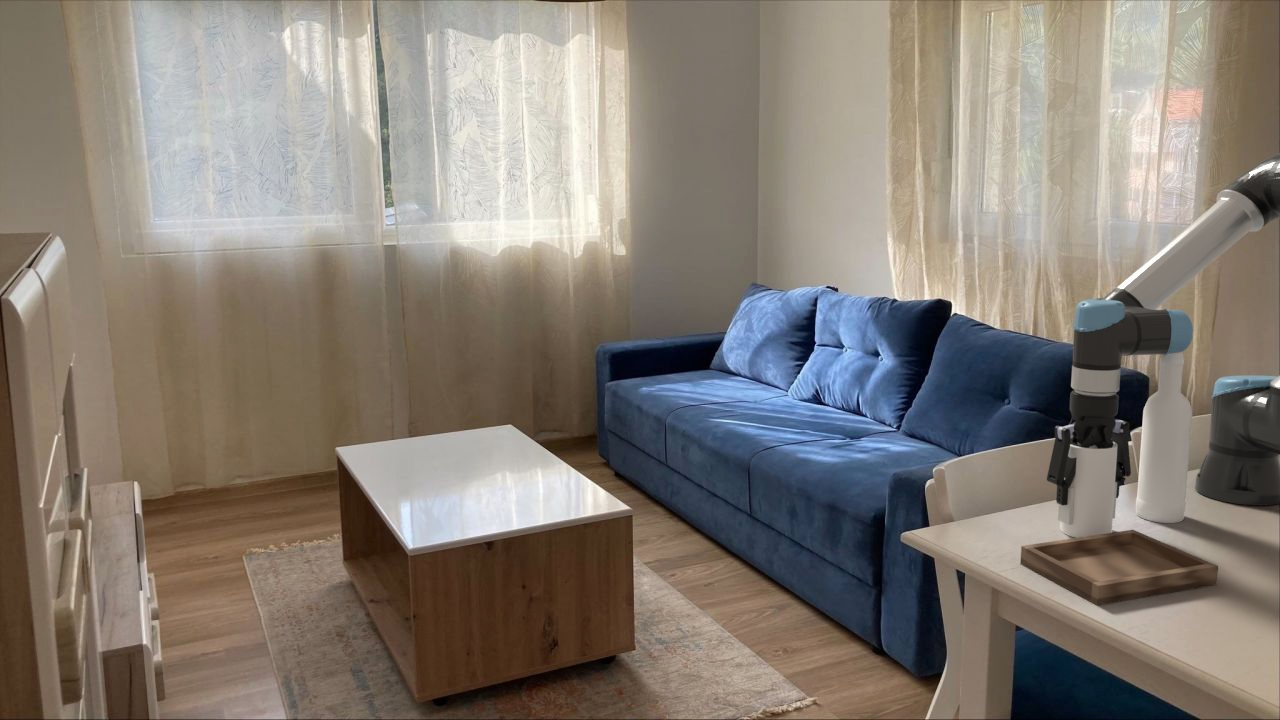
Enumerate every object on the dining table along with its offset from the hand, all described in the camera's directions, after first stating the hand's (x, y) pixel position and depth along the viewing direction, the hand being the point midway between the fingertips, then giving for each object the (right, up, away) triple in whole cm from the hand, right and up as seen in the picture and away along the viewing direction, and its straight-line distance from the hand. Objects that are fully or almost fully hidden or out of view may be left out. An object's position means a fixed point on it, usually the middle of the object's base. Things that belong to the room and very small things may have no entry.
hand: (1086, 519), depth 177 cm
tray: (-3, -6, -18) cm, 19 cm away
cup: (0, -2, 0) cm, 2 cm away
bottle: (+17, -1, +8) cm, 18 cm away
